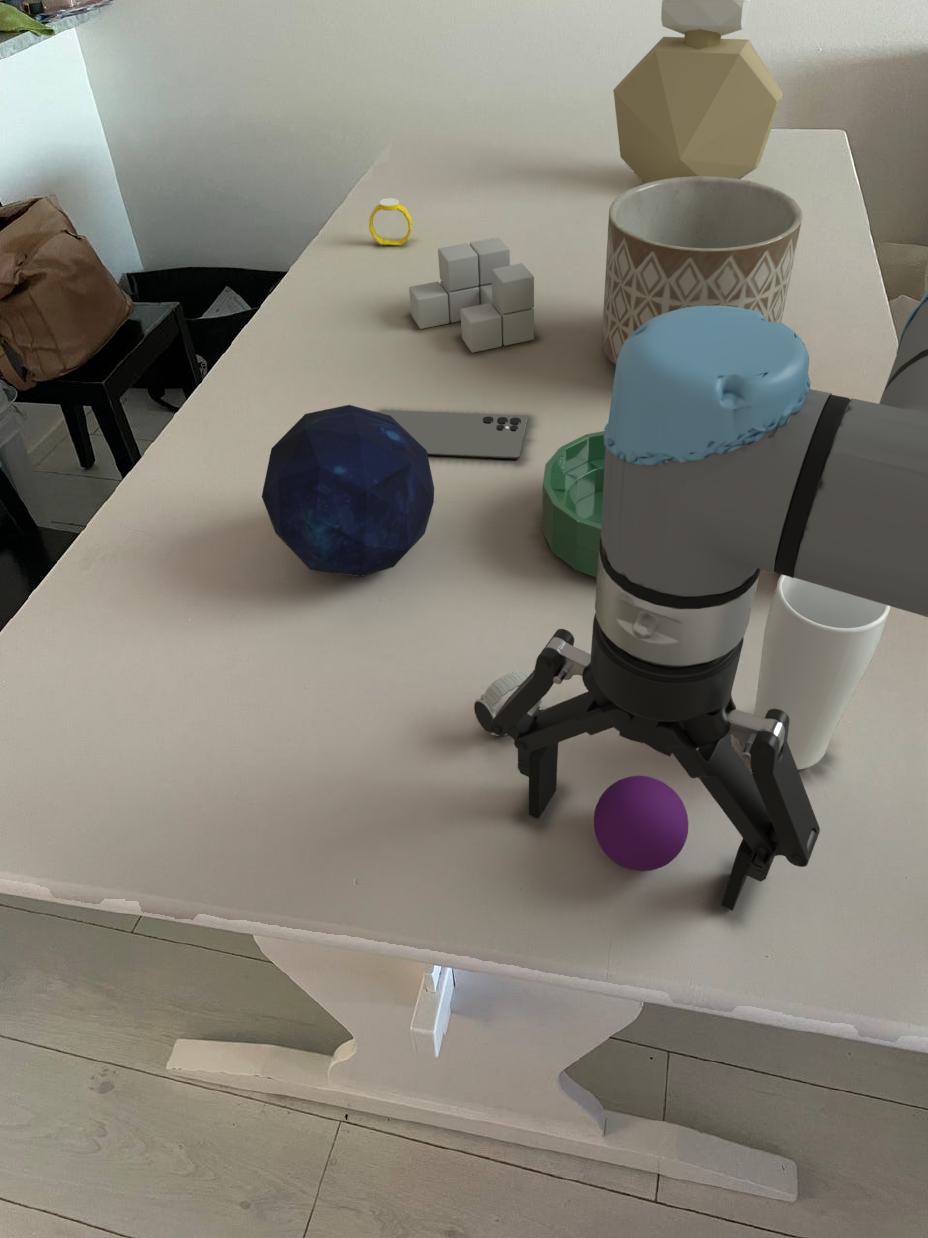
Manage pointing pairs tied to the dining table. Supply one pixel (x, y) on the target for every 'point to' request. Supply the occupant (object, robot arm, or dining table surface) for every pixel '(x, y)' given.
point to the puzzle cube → (478, 295)
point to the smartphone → (464, 433)
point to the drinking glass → (815, 660)
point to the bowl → (575, 502)
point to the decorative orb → (348, 490)
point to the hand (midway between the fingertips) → (634, 845)
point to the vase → (697, 97)
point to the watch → (389, 205)
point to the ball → (640, 823)
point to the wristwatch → (499, 698)
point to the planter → (696, 251)
